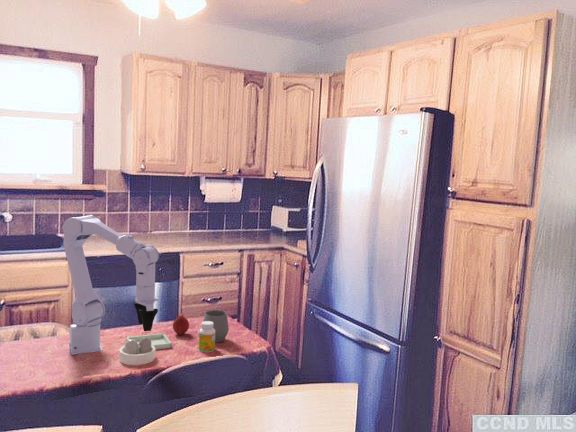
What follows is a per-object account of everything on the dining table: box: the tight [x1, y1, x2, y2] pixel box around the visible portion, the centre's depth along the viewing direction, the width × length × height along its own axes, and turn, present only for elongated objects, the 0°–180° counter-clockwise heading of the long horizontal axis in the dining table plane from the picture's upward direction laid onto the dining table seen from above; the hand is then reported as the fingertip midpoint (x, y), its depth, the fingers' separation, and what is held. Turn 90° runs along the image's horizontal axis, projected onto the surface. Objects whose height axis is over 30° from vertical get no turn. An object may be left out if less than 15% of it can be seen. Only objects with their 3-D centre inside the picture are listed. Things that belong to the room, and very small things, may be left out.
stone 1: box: [124, 339, 138, 355], centre depth 170 cm, size 4×4×6 cm
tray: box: [125, 332, 173, 350], centre depth 184 cm, size 13×11×2 cm
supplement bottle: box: [198, 320, 216, 353], centre depth 182 cm, size 5×5×10 cm
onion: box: [172, 313, 190, 336], centre depth 196 cm, size 6×6×8 cm
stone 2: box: [139, 337, 151, 354], centre depth 172 cm, size 4×4×6 cm
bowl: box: [118, 343, 157, 366], centre depth 171 cm, size 11×11×4 cm
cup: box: [202, 309, 230, 343], centre depth 192 cm, size 10×9×10 cm
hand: (144, 327), depth 171 cm, fingers open, 7 cm apart
